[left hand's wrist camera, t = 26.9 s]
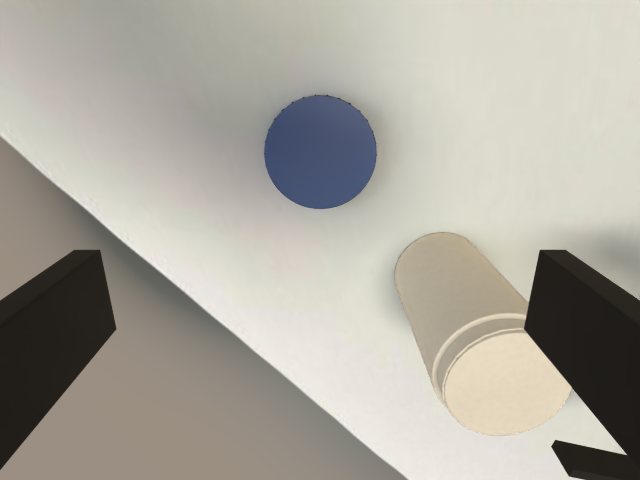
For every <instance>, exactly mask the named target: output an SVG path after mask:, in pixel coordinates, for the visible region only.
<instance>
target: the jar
mask: <svg viewBox="0 0 640 480" xmlns="http://www.w3.org/2000/svg"><path fill="white" fill-rule="evenodd" d="M395 285H396V288H397V291H398V294H399V296H400V299H401V302H402V304H403V307H404V310H405V312H406V315H407V318H408V321H409V323H410V326H411V329H412V331H413V334H414V337H415V339H416V342H417V345H418V347H419V350H420V353H421V356H422V358H423V361H424V364H425V366H426V369H427V372H428V374H429V377H430V380H431V383H432V385H433V388H434V391H435V393H436V395H437V397H438V398H439V399H440V401H441V402H442V403H443V404H444V405H445V406H446V407H447V408H448V410H449V412H450V413H451V414H452V416H453V417H454V418H455V419H456V420H457V421H458V422H459V423H460V424H461V425H463V426H464V427H466V428H468V429H470V430H472V431H474V432H477V433H481V434H485V435H491V436H506V435H513V434H518V433H522V432H525V431H528V430H531V429H533V428H535V427H537V426H539V425H541V424H543V423H544V422H546V421H547V420H549V419H550V418H551V417H552V416H554V415H555V414H556V413H557V412H558V411H559V410H560V408H561V407H562V406H563V405H564V403H565V402H566V400H567V398H568V397H569V395H570V392H571V389H572V387H571V386H570V385H569V383H568V382H567V381H566V380H565V379H564V377H563V376H562V375H561V374H560V373H559V371H558V370H557V369H556V368H555V367H554V365H553V364H552V363H551V362H550V360H549V359H548V358H547V357H546V356H545V354H544V353H543V352H542V351H541V350H540V348H539V347H538V346H537V345H536V343H535V342H534V341H533V340H532V339H531V337H530V336H529V335H528V334H527V333H526V331H525V330H524V325H525V320H526V315H527V310H528V305H529V303H528V302H527V301H526V300H525V299H524V298H523V296H522V295H521V294H520V293H519V292H518V291H517V290H516V289H515V288H514V287H513V286H512V285H511V284H510V283H509V282H508V281H507V280H506V278H505V277H504V276H503V275H502V274H501V273H500V272H499V271H498V270H497V269H496V268H495V267H494V266H493V265H492V264H491V263H490V262H489V260H488V259H487V258H486V257H485V256H484V255H483V254H482V253H481V252H480V251H479V250H478V249H477V248H476V247H475V246H474V245H473V244H472V243H471V242H470V241H469V240H467V239H466V238H464V237H462V236H459V235H456V234H452V233H434V234H430V235H426V236H424V237H422V238H419V239H418V240H416V241H414V242H413V243H412V244H411V245H409V246H408V247H407V248H406V249H405V251H404V252H403V253H402V254H401V256H400V258H399V260H398V262H397V265H396V268H395Z"/></svg>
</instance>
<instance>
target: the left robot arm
mask: <svg viewBox="0 0 640 480" xmlns="http://www.w3.org/2000/svg"><path fill="white" fill-rule="evenodd" d="M115 330H116V325H115V320H114V315H113V310H112V305H111V301H110V296H109V291H108V286H107V281H106V276H105V272H104V267H103V262H102V257H101V252H100V250H74V251H72V252H71V253H69V254H68V255H66V256H65V257H63V258H62V259H60V260H59V261H57V262H56V263H55V264H53V265H52V266H50V267H49V268H47V269H46V270H44V271H43V272H41V273H40V274H38V275H37V276H36V277H34V278H33V279H31V280H30V281H28V282H27V283H25V284H24V285H22V286H21V287H19V288H18V289H17V290H15V291H14V292H12V293H11V294H9V295H8V296H6V297H5V298H3V299H2V300H1V301H0V470H1V468H2V467H3V466H4V465H5V463H6V462H7V461H8V460H9V459H10V457H11V456H12V455H13V454H14V453H15V451H16V450H17V449H18V448H19V447H20V445H21V444H22V443H23V442H24V440H25V439H26V438H27V437H28V436H29V434H30V433H31V432H32V431H33V430H34V428H35V427H36V426H37V425H38V424H39V422H40V421H41V420H42V419H43V417H44V416H45V415H46V414H47V413H48V411H49V410H50V409H51V408H52V406H53V405H54V404H55V403H56V402H57V400H58V399H59V398H60V397H61V396H62V394H63V393H64V392H65V391H66V390H67V388H68V387H69V386H70V385H71V383H72V382H73V381H74V380H75V379H76V377H77V376H78V375H79V374H80V373H81V371H82V370H83V369H84V368H85V367H86V365H87V364H88V363H89V362H90V360H91V359H92V358H93V357H94V356H95V354H96V353H97V352H98V351H99V349H100V348H101V347H102V346H103V345H104V343H105V342H106V341H107V340H108V339H109V337H110V336H111V335H112V334H113V332H114V331H115ZM524 330H525V331H526V333H527V334H528V335H529V336H530V337H531V339H532V340H533V341H534V342H535V343H536V345H537V346H538V347H539V348H540V350H541V351H542V352H543V353H544V354H545V356H546V357H547V358H548V359H549V360H550V362H551V363H552V364H553V365H554V367H555V368H556V369H557V370H558V371H559V373H560V374H561V375H562V376H563V377H564V379H565V380H566V381H567V382H568V383H569V385H570V386H571V387H572V388H573V390H574V391H575V392H576V393H577V394H578V396H579V397H580V398H581V399H582V400H583V402H584V403H585V404H586V405H587V407H588V408H589V409H590V410H591V411H592V413H593V414H594V415H595V416H596V417H597V419H598V420H599V421H600V422H601V424H602V425H603V426H604V427H605V428H606V430H607V431H608V432H609V433H610V434H611V436H612V437H613V438H614V439H615V440H616V442H617V443H618V444H619V445H620V447H621V448H622V449H623V450H624V451H625V453H626V454H627V455H628V456H629V457H630V459H631V460H632V461H633V462H634V464H635V465H636V466H637V467H638V468H639V470H640V300H638V299H637V298H635V297H634V296H632V295H631V294H629V293H628V292H626V291H625V290H624V289H622V288H621V287H619V286H618V285H616V284H615V283H613V282H612V281H610V280H609V279H607V278H606V277H604V276H603V275H602V274H600V273H599V272H597V271H596V270H594V269H593V268H591V267H590V266H588V265H587V264H585V263H584V262H583V261H581V260H580V259H578V258H577V257H575V256H574V255H572V254H571V253H569V252H568V251H566V250H540V252H539V257H538V262H537V266H536V271H535V276H534V281H533V286H532V291H531V296H530V301H529V305H528V310H527V315H526V320H525V325H524Z"/></svg>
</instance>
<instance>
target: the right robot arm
mask: <svg viewBox="0 0 640 480" xmlns="http://www.w3.org/2000/svg"><path fill="white" fill-rule="evenodd" d="M551 447H552V449H553V450H554V452H555V454H556V455H557V457H558V459H559V460H560V462H561V464H562V465H563V467H564V469H565V471H566V472H567V474H568V476H570V477H575V478H579V479H584V480H640V470H639V468H638V467H637V466H636V465H635V464H634V462H633V461H632V460H631V459H630V457H629V456H628V455H623V454H618V453H614V452H609V451H605V450H600V449H595V448H591V447H586V446H581V445H577V444H572V443H567V442H563V441H558V440H555V441H554V443H553V445H552V446H551Z"/></svg>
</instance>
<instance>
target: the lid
mask: <svg viewBox="0 0 640 480" xmlns="http://www.w3.org/2000/svg"><path fill="white" fill-rule="evenodd" d="M274 120H275V121H274V122H273V124H272V126H271V127H270V129H269V130H268V131H269V132H268V135H267V138H266V141H265V153H264V154H265V162H266V167H267V170H268V173H269V175H270V178H271V179H272V181H273V183H274V185H275V186H276V187H277V188H278V190H279V191H280V192H281V193H282V194H283V195H284V196H286V197H287V198H288V199H290V200H291V201H293V202H295V203H297V204H299V205H302V206H305V207H308V208H314V209H326V208H332V207H337V206H339V205H342V204H344V203H346V202H348V201H350V200H351V199H353V198H354V197H355V196H357V195H358V194H359V193H360V192H361V191H362V190H363V188H364V187H365V186H366V184H367V183H368V181H369V180H370V178H371V176H372V173H373V170H374V167H375V162H376V156H377V154H376V142H375V138H374V135H373V131H372V129H371V127H370V125H369V123H368V120H366V119H365V118H364V116H363V115H362V114H361V113H360V111H359V110H357V109H355V108H354V107H353V106H352V105H351V104H350V103H349V104H348V103H347V102H345V101H343V100H341V99H340V98H335V97H331V96H328V95H327V96H320V95H318V96H316V95H315V96H310V97H306V98H304V97H303V99H300V100H298V101H296V102H292V104H291V105H290V106H288V107H287V108H286V109H283V110H282V112H281V113H280V114H279V115H278V117H277V118H275V119H274Z"/></svg>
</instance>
